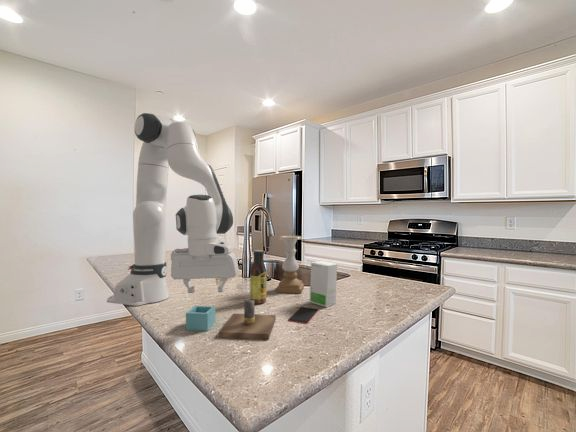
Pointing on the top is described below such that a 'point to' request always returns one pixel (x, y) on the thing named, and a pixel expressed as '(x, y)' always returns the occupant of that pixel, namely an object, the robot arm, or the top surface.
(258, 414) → the top surface
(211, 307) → the teal collar
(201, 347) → the top surface
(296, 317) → the smartphone
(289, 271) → the candle holder
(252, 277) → the sauce bottle
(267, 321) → the post stand
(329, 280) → the skincare box
